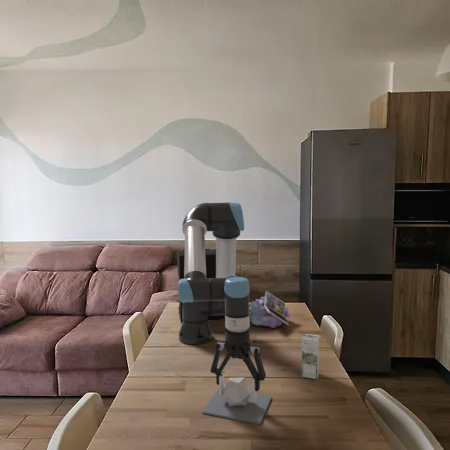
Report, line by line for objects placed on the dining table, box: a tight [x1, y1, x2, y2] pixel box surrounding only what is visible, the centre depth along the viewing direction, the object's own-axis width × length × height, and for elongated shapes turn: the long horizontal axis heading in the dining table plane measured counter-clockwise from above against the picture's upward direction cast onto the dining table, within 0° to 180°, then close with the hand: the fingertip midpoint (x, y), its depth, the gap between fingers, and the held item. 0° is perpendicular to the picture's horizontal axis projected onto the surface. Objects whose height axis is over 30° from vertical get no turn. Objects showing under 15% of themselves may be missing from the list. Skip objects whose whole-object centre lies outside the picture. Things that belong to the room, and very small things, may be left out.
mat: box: [201, 388, 272, 425], centre depth 122 cm, size 18×15×1 cm
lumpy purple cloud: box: [249, 290, 292, 329], centre depth 195 cm, size 20×22×18 cm
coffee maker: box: [176, 248, 225, 323], centre depth 208 cm, size 28×20×35 cm
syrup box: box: [301, 333, 320, 380], centre depth 140 cm, size 6×6×14 cm
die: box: [224, 377, 252, 406], centre depth 121 cm, size 8×9×10 cm
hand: (238, 397), depth 121 cm, fingers open, 10 cm apart
